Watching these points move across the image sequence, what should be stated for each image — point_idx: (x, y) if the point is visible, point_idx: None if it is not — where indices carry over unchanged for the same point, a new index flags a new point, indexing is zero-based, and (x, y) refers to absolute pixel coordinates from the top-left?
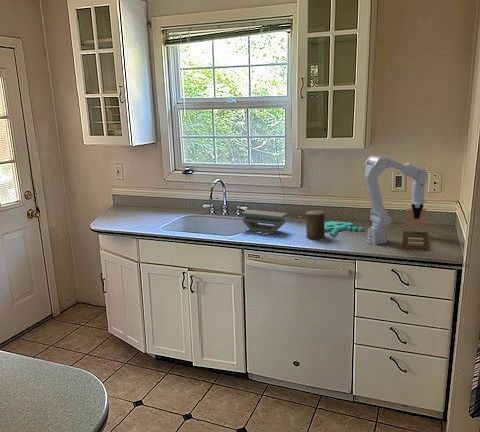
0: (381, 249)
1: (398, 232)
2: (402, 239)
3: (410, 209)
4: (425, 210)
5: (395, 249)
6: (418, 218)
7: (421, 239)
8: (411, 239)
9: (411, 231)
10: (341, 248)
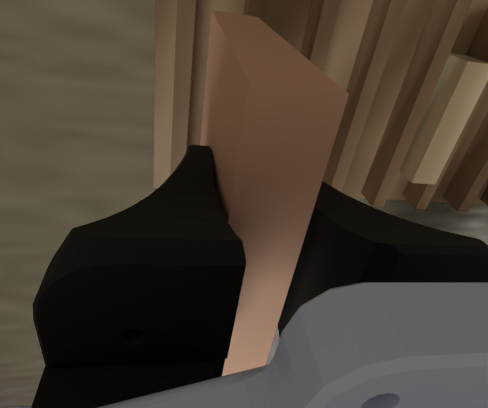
0: None
1: (97, 205)
2: None
3: (265, 362)
4: (338, 105)
5: (460, 223)
6: None
7: (483, 81)
8: (441, 157)
9: (185, 135)
10: None
